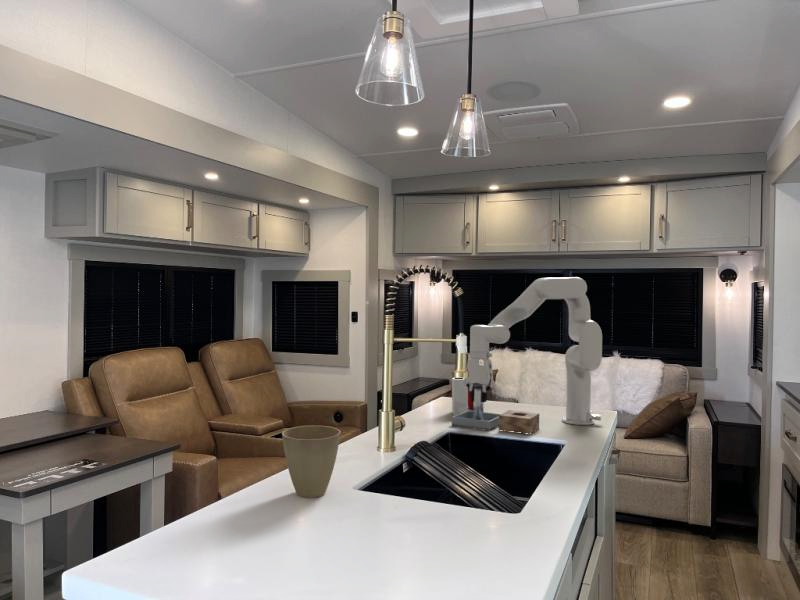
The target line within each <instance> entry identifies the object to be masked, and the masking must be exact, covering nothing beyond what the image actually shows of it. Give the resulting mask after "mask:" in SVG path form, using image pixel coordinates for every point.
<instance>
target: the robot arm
mask: <svg viewBox="0 0 800 600" xmlns="http://www.w3.org/2000/svg"><path fill="white" fill-rule="evenodd" d="M587 291H588V285H587V282H586V280H584V279H583V278H581V277H578V276H575V277H574V276H572V277H570V276H569V277H541V278H537V279H535V280H534V281H533V282H532V283H531V284H530V285H529V286H528V287H526V289H525V290H524V291H523V292H522V293H521V294H520V296H518V297H517V298H516V299H515V300H514V301H513V302H512V303H511V304H509V305H508V306H507V307H506V308H505V309H503V310H501V311H500V312H499V313H498V314H497V315H496V316H495V317H493V319H492V320H491V321H490V322H489V323H488V324H487V325H485V324H474V325H471V326H470V331H469V332H470V333H469V338H470V339H469V344H470V345H469V358H468V359H467V365H466V370H467V369H468V371H469V377H468V378H465V377H464V378H465V379H464V380H463V384H465V385H466V386H467V387H468V389H469V391H470V399H471V401H474V387H473V383H478V384H482V386H483V392H482V402H483V403H484V404H485V403H486V402H487V401H488V392H489V391H490V390H491V389H492V388H494V387H496V385H497V383H496V382H495V381H494V377H493V376H494V375H493V373H494V371H493V365H492V360H491V359H490V358H492V357H493V353H490V343H491V344H492V343H493V344H497V345H498V344H499V345H501V344H502V345H503V344H505V343H507V342H509V340H510V337H511V331H510V330H509V329H510V328H511V327H512V326H513V325H515V324H516V323H519V322H521V321H523V320H526V319H527V318H529V317H530V316H532V314H533V313H535V311H536V310H537V309H538V308H539V307H540V306H541V305H542V304H543V303H544V302H545V301H546V300H564V301H565V303H566V304H567V308H568V336H569V338H570V340H572V341H573V342H576V343H578V345H577V344H574V345H572V346H570V347H569V348H568V349H567V350H566V352H565V355H564V360H565V363H564V364H565V369H566V394H565V395H566V398H565V399H566V401H565V403H566V404H565V406H566V409H565V416H563V417H562V419H561V421H562V422H563V423H566V424H570V425H578V426H588V425H589V426H591V425H593V424H595V421H602V416H601V415H599V414H593V411H592V410H591V391H592V390H591V386H592V385H591V384H592V379H591V377H592V376H591V372H594V371H596V370H598V369H599V367H600V365H601V363H602V359H603V358H602V357H603V333H602V329H601V327H600V325H599V324H598V322H596V321H594V320H592V319H591V304H590V300H589V298H588V296H587V294H586V293H587ZM480 359H482V360H483V361H484V366H480V365H479V360H480ZM469 383H470V384H469ZM489 384H490V385H489Z"/></svg>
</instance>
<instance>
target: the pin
mask: <svg viewBox="0 0 800 600" xmlns="http://www.w3.org/2000/svg"><path fill="white" fill-rule="evenodd" d="M473 387H474V407H473V409H472V411H473V419H476V420H483V412H485V411H484V406H485V405H484V404H485V402H484V403H483V402H482V392H483V386H482V384H478V383H473Z"/></svg>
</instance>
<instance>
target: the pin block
mask: <svg viewBox="0 0 800 600" xmlns="http://www.w3.org/2000/svg"><path fill="white" fill-rule="evenodd" d="M500 414H501V415H499V426H498V431H499V430H503V431H502V432H504V430H505V431H514V432H521V433H528V434H530V433H532V432H533V431H535V430H537V429H538V430H540V413H539V412H530V411H521V410H520V411H519V410H513V409H510V410H507V411H505V412H503V413H500ZM538 430H537V431H538ZM535 432H536V431H535ZM533 433H534V432H533ZM533 433H532V434H533ZM530 435H531V434H530Z"/></svg>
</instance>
